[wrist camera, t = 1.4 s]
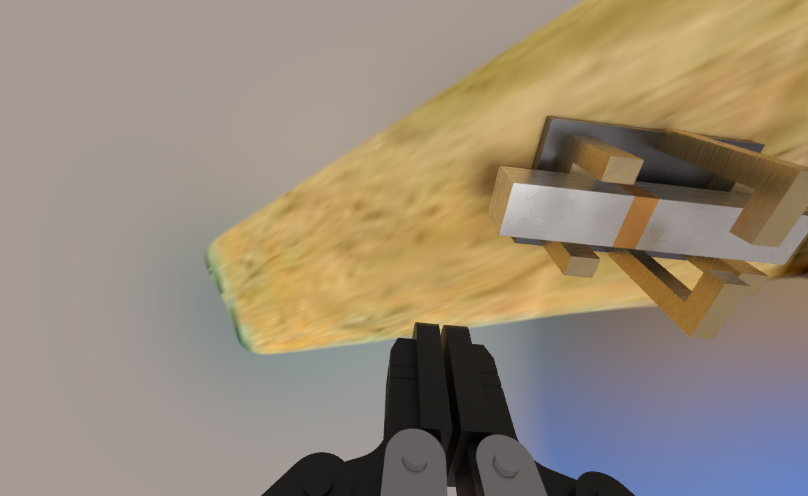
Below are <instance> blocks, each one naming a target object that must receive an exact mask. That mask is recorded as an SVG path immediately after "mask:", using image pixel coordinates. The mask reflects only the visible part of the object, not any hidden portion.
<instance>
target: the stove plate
mask: <svg viewBox="0 0 808 496" xmlns="http://www.w3.org/2000/svg"><path fill="white" fill-rule="evenodd" d="M663 133H664V131H662V130H654V129H646V128H638V127H630V126H622V125H614V124H606V123H598V122H589V121H581V120H573V119H565V118H557V117H549V116H547V120H546V123H545V126H544V130H543V133H542V137H541V140H540V143H539V147H538V150H537V154H536V157H535V160H534V164H533V167H532V169H533V170H541V171H550V172H556V171H557V168H558V165H559V162H560V159H561V156H562V153H563V150H564V147H565V144H566V141H567V138H568V135H569V134H571V135H579V136H588V137H596V138H598V139H600V140H602V141H604V142H606V143H609V144H611V145H613V146H615V147H617V148H619V149H621V150H624V151H626V152H628V153H630V154H632V155H634V156H637V157H639V158H641V159H643V160H644V162H643V164H642V166H641V169H640V171H639V173H638V175H637V178H636V180H635V181H638V182H646V183H655V184H664V185H673V186H681V187H690V188H699V189H707V187H708V185H709V183H710V181H711V179H712V178H713V176H714V174H715V173H712V172H710V171H707V170H705V169H702V168H700V167H697V166H695V165H692V164H690V163H688V162H685V161H683V160H680V159H678V158H675V157H673V156H670V155H668V154H665V153H663V152H660V151H658V150H656V149H657V147H658V144H659V142H660V140H661V138H662V136H663ZM700 136H703V135H700ZM703 137H707V138H710V139H713V140H717V141H720V142H723V143H727V144H730V145H734V146H737V147H740V148H744V149H747V150H751V151H754V152H757V153H760V152H761V151H762V149H763V147H764V146H765V145H764V144H760V143H756V142H752V141H743V140H735V139H727V138H719V137H711V136H703ZM512 238H513V240H514V242H515V243H522V244H532V245H541V246H543V245H542V244H541V242H540V241H539V239H530V238H520V237H512ZM587 246H588V247H589V248H590V249H591V250H592V251H600V252H610V250H611V248H612V247H608V246H598V245H588V244H587ZM643 251H644V252H646V253H647V254H648V255H649V256H650V257H659V258H669V259H679V260H687V259H685V258H684V257H683V256H681V255H680V254H676V253H666V252H656V251H647V250H643Z"/></svg>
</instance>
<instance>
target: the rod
mask: <svg viewBox="0 0 808 496" xmlns="http://www.w3.org/2000/svg"><path fill="white" fill-rule="evenodd" d="M751 196H752V195H751V194H743V193H734V192H725V191H716V190H708V189H699V188H690V187H681V186H673V185H664V184H655V183H646V182H638V181H635V182H634V184H633V185H630V184H621V183H612V182H603V181H600V180H598V179H597V178H595V177H594V176H585V175H576V174H568V173H559V172H550V171H541V170H533V169H524V168H515V167H506V166H499V170H498V174H497V178H496V182H495V186H494V190H493V194H492V198H491V202H490V206H489V210H488V215H489V217H490V219H491V221H492V222H493V224H494V226H495V228H496V230H497V232H498V234H499V235H501V236H511V237H520V238H530V239H540V240H549V241H559V242H569V243H579V244H588V245H598V246H608V247H617V248H627V249H637V250H647V251H656V252H666V253H676V254H685V255H695V256H705V257H714V258H724V259H734V260H744V261H753V262H763V263H773V264H782V265H784V264H785V263H786V261H787V260H788V259H789V257H790V256H791V255H792V253H793V252H794V251H795V249H796V248H797V247H798V245H799V244H800V243H801V241H802V240H803V239H804V237H805V236H806V235H807V233H808V212H806V211H804V212H803V214H802V215H801V216H800V218H799V219H798V221H797V222H796V224H795V225H794V226H793V228H792V229H791V231H790V232H789V233H788V235H787V236H786V238H785V239H784V240H783V242H782V243H781V245H780V246H779V247H769V246H759V245H751V244H750V243H748V242H746V241H744V240H742V239H741V238H739V237H737V236H735V235H734V234H732V233H730V232H729V231H730V230H731V228H732V226H733V225H734V223H735V221H736V220H737V218H738V217H739V215H740V213H741V212H742V210H743V209H744V207H745V205H746V204H747V202H748V201H749V199H750V197H751Z"/></svg>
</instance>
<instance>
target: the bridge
mask: <svg viewBox="0 0 808 496" xmlns="http://www.w3.org/2000/svg"><path fill="white" fill-rule="evenodd" d="M656 150H658V151H660V152H663V153H665V154H668V155H670V156H673V157H675V158H678V159H680V160H683V161H685V162H688V163H690V164H692V165H695V166H697V167H700V168H702V169H705V170H707V171H710V172H712V173H715V174H717V175H720V176H722V177H725V178H727V179H730V180H732V181H735V182H737V183H740V184H742V185H745V186H747V187H750V188H752V189H755V191H754V192H753V194H752V196H751V197H750V199H749V201H748V202H747V204H746V205H745V207H744V209H743V210H742V212H741V213H740V215H739V217H738V218H737V220H736V221H735V223H734V225H733V226H732V228H731V230H730V231H729V232H730V233H732V234H734V235H735V236H737V237H739V238H741V239H742V240H744V241H746V242H748V243H750V244H751V245H759V246H769V247H779V246H780V245H781V243H782V242H783V240H784V239H785V238H786V236H787V235H788V233H789V232H790V231H791V229H792V228H793V226H794V225H795V224H796V222H797V221H798V219H799V218H800V216H801V215H802V214H803V212H804V211H805V209H806V208H807V207H808V167H805V166H801V165H798V164H795V163H791V162H788V161H785V160H781V159H778V158H774V157H771V156H768V155H764V154H761V153H757V152H754V151H751V150H747V149H744V148H740V147H737V146H734V145H730V144H727V143H723V142H720V141H717V140H713V139H710V138H707V137H703V136H700V135H696V134H693V133H690V132H686V131H679V130H671V129H665V131H664V133H663V136H662V138H661V140H660V142H659V144H658V147H657V149H656ZM608 255H609V256H610V257H611V258H612V259H613V260H614V261H615V262H616V263H617V264H618V265H619V266H620V267H621V268H622V269H623V270H624V271H625V272H626V273H627V274H628V275H629V276H630V277H631V278H632V279H633V280H634V281H635V282H636V283H637V284H638V285H639V286H640V287H641V288H642V289H643V290H644V292H645V293H646V294H647V295H648V296H649V297H650V298H651V299H652V300H653V301H654V302H655V303H656V304H657V305H658V306H659V307H660V308H661V309H662V310H663V311H664V312H665V313H666V314H667V315H668V316H669V317H670V318H671V319H672V320H673V321H674V322H675V323H676V324H677V325H678V326H679V327H680V328H681V329H682V330H683V331H684V332H685V333H686V334H687V335H688V336H689V337H693V338H704V339H713V338H714V337H715V336H716V334H717V333H718V331H719V330H720V329H721V327H722V326H723V324H724V323H725V322H726V320H727V319H728V317H729V316H730V314H731V313H732V312H733V310H734V309H735V308H736V306H737V305H738V303H739V302H740V301H741V299H742V297H743V296H744V295H745V294H746V292H747V291H748V289H749V288H750V287H751V286H750V285H748V284H747V283H745V282H744V281H742V280H741V279H740V278H738V277H737V276H735V275H734V274H732V273H731V272H728V271H718V270H708V269H706V270H705V271H704V273H703V275H702V276H701V278H700V279H699V281H698V283H697V284H696V286H695V287H694V289H693V291H691V290H690V289H688V288H687V287H686V286H685V285H684V284H682V283H681V282H680V281H679V280H678V279H676V278H675V277H674V276H673V275H672V274H671V273H669V272H668V271H667V270H666V269H665V268H663V267H662V266H661V265H660V264H659V263H658V262H656V261H655V260H654V259H653V258H652V257H650V256H649V255H648V254H647V253H646V252H644V251H643V250H637V249H627V248H617V247H612V248H611V250H610V252H609V254H608Z"/></svg>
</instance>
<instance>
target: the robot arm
mask: <svg viewBox="0 0 808 496" xmlns="http://www.w3.org/2000/svg"><path fill="white" fill-rule="evenodd" d="M447 486H448V487H456V492H457V496H635V495H634V494H633V493H631V492H630V491H629V490H628V489H627V488H626V487H625V486H624V485H622V484H621V483H620V482H619V481H617V480H615V479H614V478H613V477H611V476H608V475H606V474H603V473H600V472H593V471H591V472H586V473H584V474H582V475H581V476H580V477H579V478H578V480H575V479H573V478H570V477H568V476H565V475H563V474H560V473H558V472H555V471H553V470H550V469H548V468H546V467H544V466H542V465H540V464H539V463H537V462H536V461H535V460H533V458H532V456H531V454H530V453H529V452H528V451H527V449H526V448H525V447H524V446H523V445H522V444H520V443H519V441H518V439H517V437H516V434H515V430H514V427H513V423H512V420H511V416H510V413H509V410H508V406H507V403H506V399H505V396H504V392H503V389H502V388H501V382H500V379H499V376H498V372H497V368H496V365H495V361H494V358H493V357H492V356H491V354H490V353H489V352H488V350H487V349H486V348H485V347H484V345H478V344H472V342H471V338H470V333H469V329H468V327H464V326H453V325H443V328H442V332H441V336H440V329H439V325H438V324H429V323H418V322H415V325H414V330H413V336H412V339H406V338H398V339H397V340H396V342H395V344H394V345H393V347H392V349H391V352H390V359H389V367H388V375H387V382H386V400H385V419H384V440H383V441H382V443H381V444H380V445H379V446H378V447H377V448H376V449H375V450H374V451H372V452H371V453H369V454H367V455H365V456H362V457H359V458H356V459H352V460H349V461H346V462H344V461H343V460H342V459H340V458H339V457H338V456H336V455H334V454H330V453H325V452H320V453H314V454H310V455H308V456H306V457H304V458H302V459H301V460H299V461H298V462H297V463H296V464H295V465H294V466H292V467H291V468H290V469H289V470H288V471H287V472H286V473H285V474H284V475H283V476H282V477H281V478H280V479H279V480H277V482H275V483H274V484H273V485H272V486H271V487H270V488H269V489H268V490H267V491H266V492H265V493H264V494H262V496H447Z"/></svg>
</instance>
